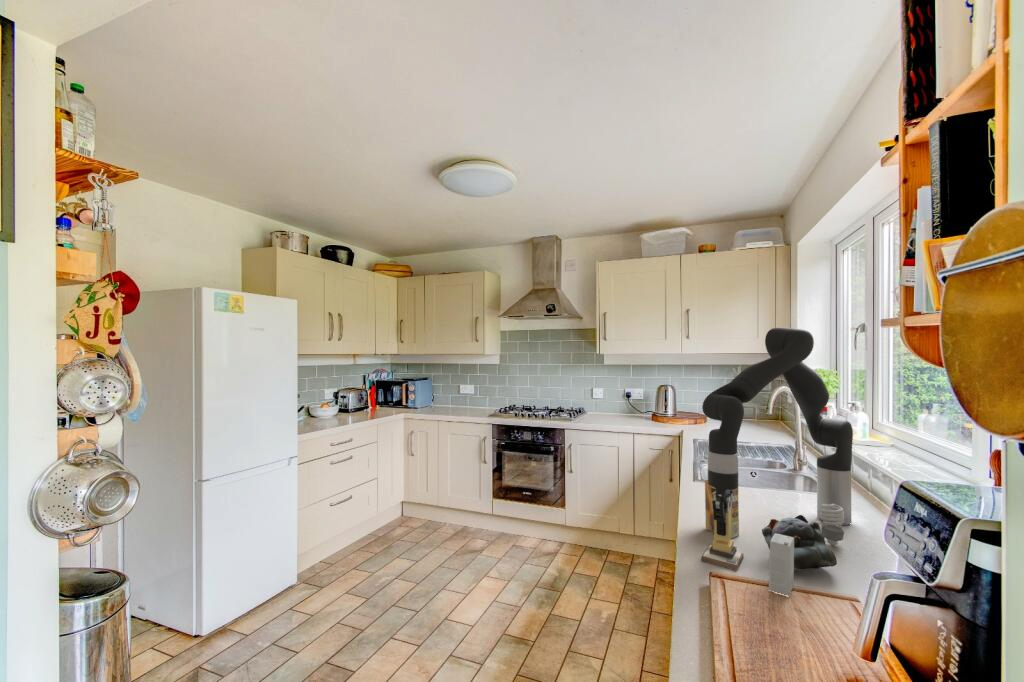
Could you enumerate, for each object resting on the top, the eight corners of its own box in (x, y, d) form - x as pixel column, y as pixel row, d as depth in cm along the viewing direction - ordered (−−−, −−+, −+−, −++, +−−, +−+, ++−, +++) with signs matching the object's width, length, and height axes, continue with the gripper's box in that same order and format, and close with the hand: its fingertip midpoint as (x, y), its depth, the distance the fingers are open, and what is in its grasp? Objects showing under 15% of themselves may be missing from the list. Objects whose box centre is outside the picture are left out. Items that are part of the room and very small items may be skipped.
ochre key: (716, 543, 125) (716, 536, 125) (733, 547, 122) (733, 540, 122) (712, 549, 121) (712, 542, 121) (730, 554, 118) (730, 546, 118)
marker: (731, 537, 122) (731, 501, 122) (728, 542, 119) (728, 504, 119) (717, 534, 124) (717, 498, 124) (714, 539, 121) (714, 501, 121)
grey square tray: (708, 549, 126) (708, 540, 126) (743, 558, 121) (743, 548, 121) (701, 560, 120) (701, 550, 120) (737, 570, 114) (737, 560, 114)
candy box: (739, 535, 135) (739, 485, 136) (731, 539, 133) (731, 487, 133) (712, 526, 143) (712, 477, 143) (704, 529, 140) (704, 480, 141)
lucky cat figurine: (770, 573, 113) (754, 514, 120) (776, 574, 122) (760, 519, 129) (840, 570, 106) (818, 508, 113) (841, 571, 115) (821, 514, 122)
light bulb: (840, 543, 130) (840, 501, 131) (847, 551, 125) (847, 508, 125) (817, 540, 132) (817, 499, 132) (824, 548, 127) (823, 506, 127)
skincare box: (773, 581, 109) (773, 531, 109) (794, 588, 106) (794, 536, 106) (768, 592, 104) (767, 540, 104) (790, 599, 101) (790, 545, 102)
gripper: (732, 477, 114) (733, 545, 114) (742, 465, 125) (743, 527, 125) (701, 472, 118) (701, 537, 118) (714, 461, 130) (714, 521, 129)
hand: (723, 532), depth 121 cm, fingers closed on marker, 3 cm apart
